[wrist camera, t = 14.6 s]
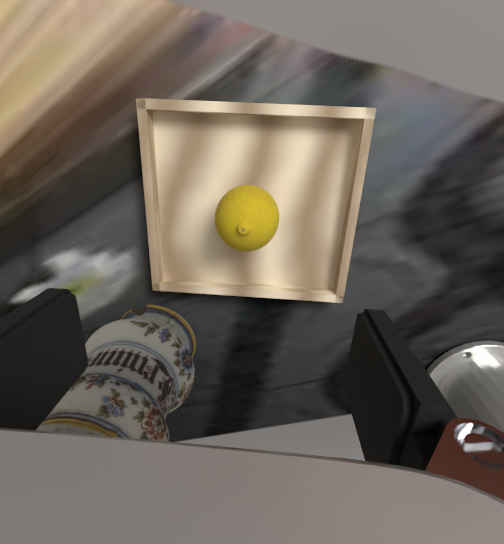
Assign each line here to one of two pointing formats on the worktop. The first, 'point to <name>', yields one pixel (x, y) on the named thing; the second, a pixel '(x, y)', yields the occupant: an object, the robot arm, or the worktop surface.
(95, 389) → the apothecary jar
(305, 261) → the birch tray
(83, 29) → the worktop surface
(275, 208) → the lemon
